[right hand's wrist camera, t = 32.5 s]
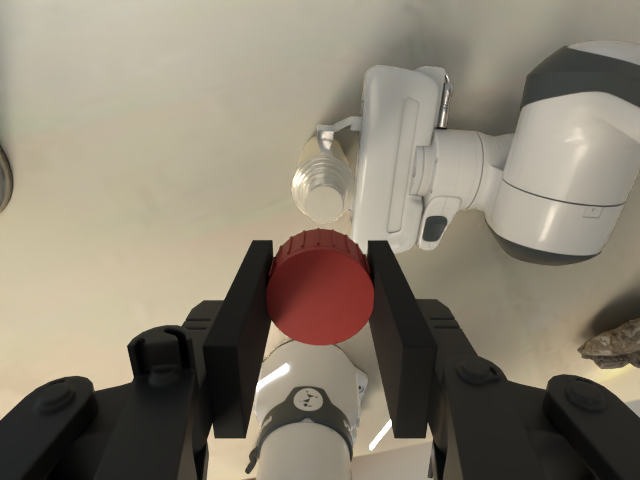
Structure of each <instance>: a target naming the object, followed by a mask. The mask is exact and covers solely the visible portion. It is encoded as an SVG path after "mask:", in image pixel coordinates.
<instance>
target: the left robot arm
mask: <svg viewBox="0 0 640 480" xmlns="http://www.w3.org/2000/svg"><path fill="white" fill-rule="evenodd" d="M445 78H446V83H444V80H445ZM452 94H453V84H452V83H450V76H449V74H448V72H447V71H446V70H445V69H444V68H442V67H439V66H428V65H424V66H420V67H418V68H416V69H415V70H414V71H413V70H409V69H404V68H399V67H393V66H386V65H375V66H373V67H371V68H370V69H369V70H368V71H367V72H366V73H365V75H364V83H363V94H362V104H361V114H360V117H358V116H349V117H347V118H345V119H343V120H341V121H339V122H337V123H335V124H334V125H317V139H318V140H323V139H326V140H331V141H333V134H334V133H335V132H337V131H339V130H341V129H343V128H345V127H347V126H349V129H350V130H351V131H359V135H358V146H357V156H356V166H355V177H354V178H355V182H356V195H355V198H354V201H353V203H352V205H351V206H350V208H349V209H348V210H351V218H350V228H349V238H350V239H351V240H353V241H354V242H355V243H358V245H359V248H360V249H361V251H362V252H363V254H367V247H368V240H387V241H388V243H389V245H390V247H391V249H392V251H393V253H394V254H397V253H403V252H406V251H408V250H410V249H411V248H412V247H413V246H414V245H415V244H416V245H417V246H418V247H419V248H420V249H422V250H434V249H435V248H436V247H437V246H438V244H439V242H440V241H441V239H442V237H443V235H444V233H445V231H446V230H447V228H448V226H449V224H450V222H451V221H452V219H453V218H454V216H455V214H456V213H457V211H466V210H473V209H476V210H481V211H483V212H484V213H485V216H486V217H485V221H486V223H487V225H488V227H489V229H490V230H491V232H492V234H493V235H494V237H495V238H496V240H497V241H498V243H499V244H500V246H501V247H502V248H503V250H504V251H505V252H507V253H508V254H509V255H510V256H512V257H514V258H516V259H519V260H522V261H525V262H529V263H535V264H541V265H553V266H559V265H567V264H573V263H578V262H582V261H585V260H588V259H590V258H593V257H595V256H597V255H598V254H600V253H601V250H602V249H603V247H604V246H605V244H606V242H607V241H608V239H609V237H610V235H611V233H612V231H613V229H614V226H615V224H616V222H617V220H618V218H619V216H620V214H621V212H622V209H623V207H624V205H625V203H626V199H627V197H628V195H629V193H630V190H631V188H632V186H633V184H634V182H635V180H636V177H637V175H638V173H639V171H640V45H639V44H635V43H630V42H624V41H616V40H595V41H586V42H581V43H577V44H573V45H571V46H564V47H562V48H561V49H559V50H558V51H556V52H555V53H553V54H552V55H551V56H549V57H548V58H547V59H545V60H544V61H543V62H542V63H541V64H539V65H538V66H537V67H536V68H535V69H534V70H533V71H532V72H531V73H530V74H528V75H527V78H526V83H525V88H524V92H523V97H522V102H521V107H520V111H521V113H520V116H519V120H518V123H517V127H516V130H515V133H510V134H504V135H500V136H490V135H486V134H484V133H481V132H478V131H470V130H455V129H447V123H448V117H449V107H450V105H449V104H450V99H451V97H452ZM434 127H437V128H434ZM367 385H368V377H367V375H366V374H365V373H364V372H362V371H361V370H359V369H358V368H356V367H355V366H354V365H353V364H352V363H351V361H350V360H349V358H348V357H347V355H346V354H345V353H344V352H343V351H342V350H340V349H339V348H338V347H336V346H334V345H323V346H317V345H309V344H304V343H301V342H298V341H296V340H295V341H291V342H288V343H286V344H284V345H282V346H280V347H279V348H277V349H276V350H275V351H274V352H273V353H272V354H271V355H270V356H269V357H268V358H267V360H265V361H264V362H263V363H262V365H261V370H260V375H259V379H258V384H257V388H256V393H255V397H254V400H255V404H254V413H255V414H256V416H257V420H258V423H259V426H260V432H259V438H258V446H257V447H256V448H255V449H253V450H252V451H251V453H250V455H249V459H250V461H251V462H250V464H249V465H248V467H247V468H246V470H245V472H246V473H247V474H249V473H250V472H251V471H252V469H253V468H254V466H255V464H256V457H255V456H256V455H257V454H258V458H259V464H258V470H257V475H256V480H352V475H351V464H350V463H351V460H352V456H353V443H355V440H356V428H358V427H359V418H360V403H361V400H362V398H363V395H364V393H365V390H366V387H367ZM358 386H359V387H358ZM391 425H392V423H391V419H390V421H389V422H388V423H387V424H386V426H385V427H384V428H383V429H382V431H381V432H380V433H379V435H378V436H377V437H376V438H375V440H374V441H373V442H372V443H371V445H370V446H369V447H370V450H372V449H373V448H374V446H375V445H376V444H377V443H378V441H379V440H380V439H381V438H382V436H383V435H384V434H385V433H386V431H387V430H388V429H389V428H390V426H391Z"/></svg>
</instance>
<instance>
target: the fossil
mask: <svg viewBox="0 0 640 480" xmlns="http://www.w3.org/2000/svg"><path fill="white" fill-rule="evenodd" d="M578 352H579V353H581V354H582V358H585V359H591V360H594V362H595V364H596V365H598V366H599V367H600V368H601V369H614V368H621V367H624V366H625V365H627V364H629V363H631V364H632V365H633V366H635V367H637V368H640V318H636V319H634V320H630V321H629V322H625V323H623V324H622V325H621V326H619V327H617V328H616V329H613V330H609V331H606V332H604V333H602V334H598V335H597V336H595V337H593V338H591V339H590V340H588V341H587V342H586V343H584V344H583V345H582V346H581V347H580V348H579V349H578Z"/></svg>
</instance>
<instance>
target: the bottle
mask: <svg viewBox="0 0 640 480" xmlns="http://www.w3.org/2000/svg"><path fill="white" fill-rule="evenodd" d="M291 191H292V197H293V200H294V202H295V204H296V206H297V207H298V208H299V210H300V211H301V212H303V213H304V214H305V215H307V216H308V217H309V218H310V219H311V220H313V221H314V222H316V223H319V224H329V223H332V222H334V221H336V220H337V219H339V218H340V216H341V215H342V214H344V213H345V212H346V211H347V210H348V209H349V208H350V206H351V205H352V203H353V201H354V198H355V195H356V182H355V178H354V175H353V173H352V171H351V168H350V166H349V164H348V161H347V159H346V157H345V154H344V152H343V149H342V147H341V145H340V143H339V142H338V141H337V140H336V139H335V138H334V137H333V141H331V140H326V139H323V140H318V139H317V135H316V136H313V137H312V138H311V139H309V140H308V142H307V143H306V145H305V147H304V149H303V152H302V155H301V158H300V160H299V163H298V166H297V169H296V171H295V174H294V177H293V180H292V185H291Z"/></svg>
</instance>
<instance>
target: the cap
mask: <svg viewBox="0 0 640 480" xmlns="http://www.w3.org/2000/svg"><path fill="white" fill-rule="evenodd" d="M370 273H371V271H370V268H369V264H368V261H367V258H366V255H365V254H363V252H362V251H361V249H360V248H359V245H358V243H355V242H354V241H353V240H351V239H350V238H348V236H347V235H343V234H341V233H339V232H336V231H334V230H326V229H320V228H317V229H314V230H308V231H305V230H304V231H303V232H302V233H299V234H297V235H295V236H293V237H292V236H291V237H290V239H289V240H288V241H287V242H286V243H285V244H284V245H283V246H280V248H279V251H278V253H277V255H276V257H274V258H273V261H272V264H271V267H270V271H269V274H268V276H269V280H268V283H267V288H266V301H267V311H268V313H269V316H270V318H271V319H272V321H273V323H274V324H275V325H276V327H277V328H278V329H279V330H280V331H281V332H283V333H284V334H285V335H287V336H288V337H290V338H292V339H294V340H296V341H298V342H301V343H304V344H309V345H317V346H323V345H332V344H336V343H339V342H342V341H345V340H347V339H349V338H351V337H352V336H354V335H355V334H356V333H358V332H359V331H360V330H361V329H362V328H363V327H364V326H365V324H366V323H367V322H368V320H369V318H370V316H371V314H372V311H373V305H374V286H373V282H372V279H371V275H370Z"/></svg>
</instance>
